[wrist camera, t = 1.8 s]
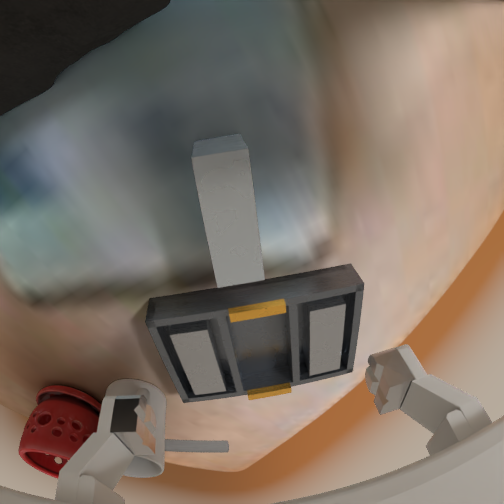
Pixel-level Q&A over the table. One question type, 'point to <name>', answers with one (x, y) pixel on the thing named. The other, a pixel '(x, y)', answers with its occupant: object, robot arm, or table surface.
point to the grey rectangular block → (228, 209)
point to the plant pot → (58, 427)
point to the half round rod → (196, 446)
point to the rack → (259, 334)
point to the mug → (154, 462)
